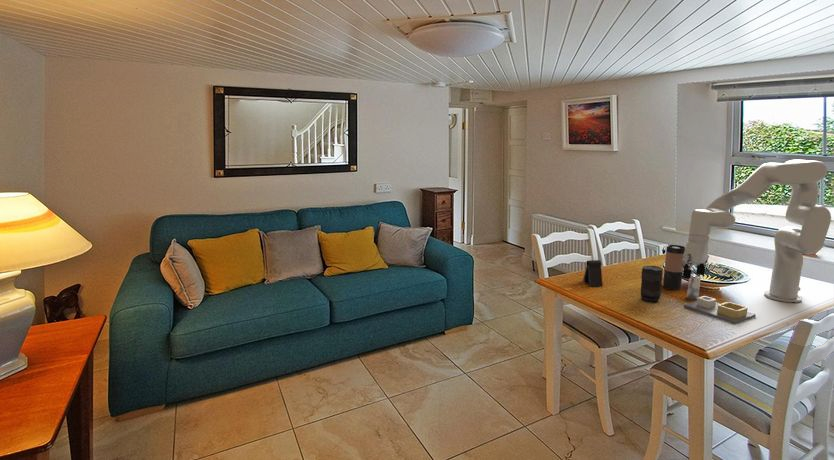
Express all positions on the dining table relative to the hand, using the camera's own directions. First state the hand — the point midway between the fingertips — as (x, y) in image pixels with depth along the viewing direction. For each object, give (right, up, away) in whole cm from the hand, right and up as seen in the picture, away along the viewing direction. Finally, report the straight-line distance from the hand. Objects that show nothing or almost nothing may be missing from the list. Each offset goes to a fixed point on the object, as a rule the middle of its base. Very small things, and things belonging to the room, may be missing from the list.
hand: (693, 276), depth 192 cm
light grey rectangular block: (+1, -10, +2) cm, 10 cm away
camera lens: (-19, -11, 0) cm, 22 cm away
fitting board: (+1, -13, -14) cm, 19 cm away
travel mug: (0, -7, +16) cm, 17 cm away
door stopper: (-35, -7, +23) cm, 43 cm away
